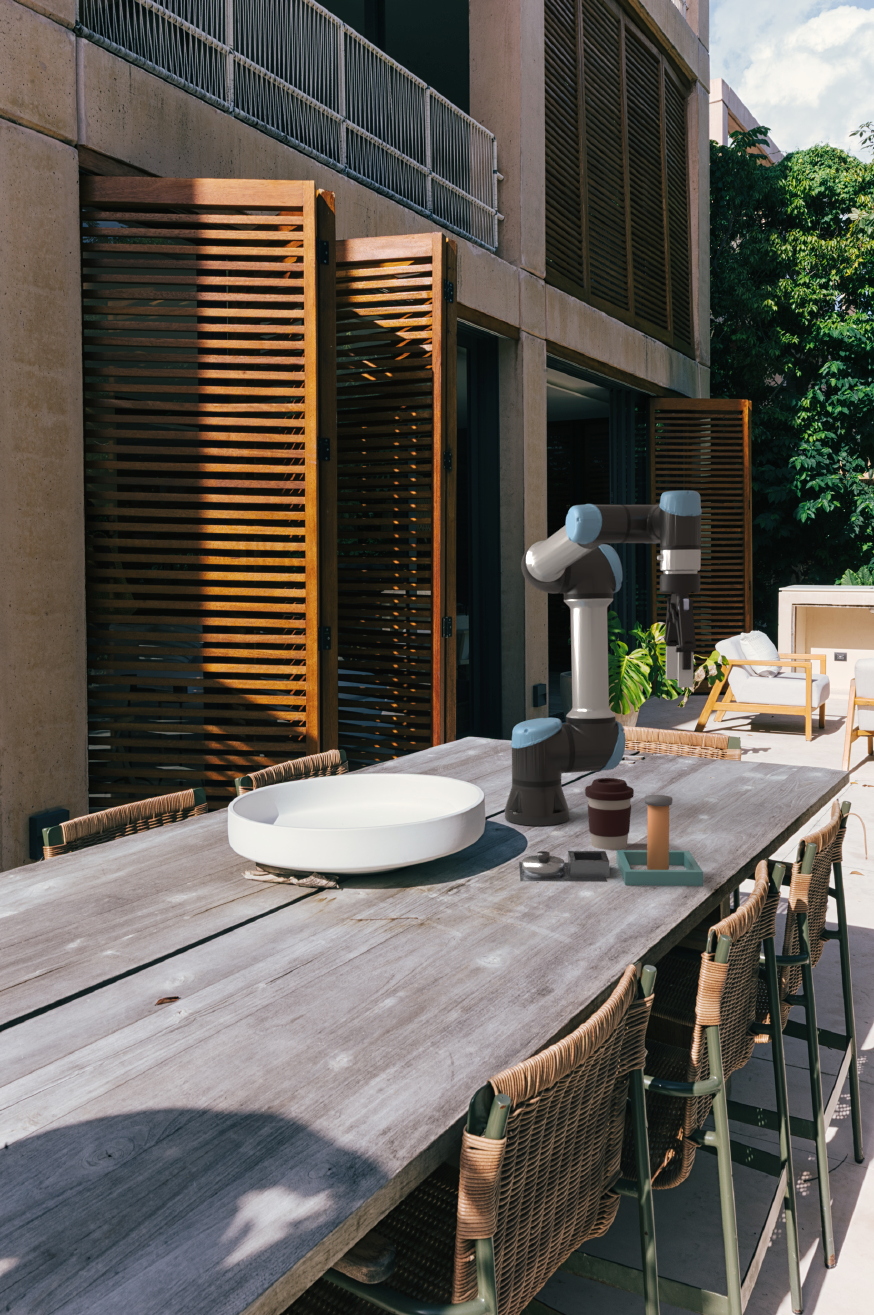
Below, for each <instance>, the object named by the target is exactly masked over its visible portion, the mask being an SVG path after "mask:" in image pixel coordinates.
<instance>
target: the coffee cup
mask: <svg viewBox="0 0 874 1315" xmlns="http://www.w3.org/2000/svg"><path fill="white" fill-rule="evenodd" d="M584 790H585V791H584V796H585V797H586V798H587V800H588V803H587V815H588V817H587V818H588V829H589V830H588V831H589V833H590V841H591V842H590V844H591V847H593V848H597V849H599V850H605V851H606V850H607V851H608V850H609V851H615V850H624V849H625V848H627V847H628V842H629V841H628V840H629V834H630V827H631V826H630V825H631V815H632V814H631V812H632V804H631V800H632V798H634V795H635V793H634V791H635V790H634V787H631V786H629V785H628V784H627V781H625V780H624V779H622V778H616V777H615V778H614V777H602V778H601V777H600V778H596V779H593V780H592V783H591V784H590V785H588V786H586V787H585V788H584Z"/></svg>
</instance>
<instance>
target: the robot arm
mask: <svg viewBox="0 0 874 1315" xmlns="http://www.w3.org/2000/svg"><path fill="white" fill-rule="evenodd" d="M701 506H702V505H701V495H700V493H699V492H698V491H695V490H669V491H664V492H662V494H661V496H660V500H659V504H593V503H586V504H576V505H573V506H571V507H570V508H569V510H568V512H567V514H566V517H565V525H564V526H563V527H561V528H560V529H559V530H557V531H556V532H554V533H553V534H552V535H551V536H549V537H548V538H546V539H545V540H539V541H537V542H535V543H533V544H532V545H530V546H529V547H528V548H527V550H525V552H524V554H523V556H522V558H521V566H520V568H521V572H522V575H523V577H524V579H525V580H526V581H527V583H529V585H531V586H532V587H533V588H534V589H536V590H538V591H540V592H543V593H548V594H563V602H564V603H565V604H566V605H567V606H568V607H569V610H570V641H571V642H570V645H571V648H570V649H571V691H572V692H571V694H572V695H571V699H572V708H571V710H570V711H568V713H567V714H566V716H565V718H566V723H563V722H562V720H561V719H560V718H556V717H538V718H534V719H529V720H525V721H522V722H519V723H517V724H516V725H515V726H514V727H513V729H512V733H511V734H512V735H511V742H510V747H511V788H510V791H509V795H508V798H507V801H506V805H505V807H504V819H505V820H506V821H507V822H509V823H513V824H516V825H523V826H535V827H536V826H538V827H541V826H553V825H560V824H562V823H563V824H564V823H565V822H567V821H569V819H570V808H569V805H568V803H567V800H566V796H565V793H564V790H563V787H562V775H563V774H572V773H586V772H597V773H599V772H600V773H601V772H602V771H603V772H604V771H611V770H614V769H616V768H617V767H618V766H619V765H620V763H621V762H622V760H623V757H624V755H625V752H626V751H625V749H626V733H625V732H624V731H625V728H624V725H623V724H622V723H621V722H619V721H618V720H616V714H615V713H614V712H613V711H612V709H610V701H609V700H610V698H609V697H610V696H609V695H610V694H609V692H610V690H609V651H608V650H609V644H608V643H609V642H608V641H609V640H608V607H609V605H611V603H612V602H613V601H614V594H615V593H617V592H619V591H620V589H621V587H622V582H623V566H622V563H621V559H620V557H619V555H618V552H617V551H616V550H615V548H613V547H612V546H611V545H609V544H627V543H628V544H648V545H649V544H653V545H654V544H659V550H660V555H657V556H656V559H657V561H660V562H659V570H660V571H661V572H663V573H662V574H660V575H659V592H660V593H661V594H669V595H670V594H671V595H670V596H667V599H666V602H667V603H666V606H667V607H666V617H665V626H664V627H665V628H664V638H663V642H664V643H665V646H666V647H665V679H666V680H677V688H694V652H695V650H696V649H697V642H696V631H695V619H694V618H695V617H694V600H693V598H689V594H698V593H700V592H701V575H700V573H698V571H700V570H701V568H702V567H701V562H702V561H701V559H702V558H701V557H702V554H701V552H702V551H701V550H702V549H701V536H702V529H701V528H702V524H701V523H702V512H703V510H702V508H701Z"/></svg>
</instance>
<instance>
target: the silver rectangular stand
mask: <svg viewBox="0 0 874 1315" xmlns="http://www.w3.org/2000/svg"><path fill="white" fill-rule="evenodd" d="M518 864H519V866H518V867H519V878H520V879H519V882H571V883H572V882H574V883H575V882H576V883H577V882H579V883H580V882H581V883H583V882H584V883H585V882H588V883H590V882H593V883H595V882H596V883H598V882H599V883H600V882H601V883H605V882H608V878H610V860H609V858H608V854H607V851H606V850H567V862H566V861H565V860H564V859H563V858H562V857H559V856H556V855H555V856H554V855H551V854H550V851H545V850H541V851H540V850H539V851H537V852H536V855H529V856H526V857H524V858H522V860H521V861H518Z"/></svg>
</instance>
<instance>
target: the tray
mask: <svg viewBox="0 0 874 1315" xmlns="http://www.w3.org/2000/svg"><path fill="white" fill-rule="evenodd" d="M615 856H616V858H615V859H616V861H615V862H616V865H617V867H618V871H619V873H620V875H621V876H620V877H621V879H622V880H623V883H624V885H625V886H664V887H665V886H676V887H677V886H678V887H679V886H681V887H685V886H686V887H687V886H690V887H692V886H693V887H694V886H697V887H699V886H700V887H703V886H704V871H703V869H702V868H701V866H700V865H699V863H698V862H697V861H696V859H695V857H694V856H693V854H692V853H691V852H690V850H683V849H682V850H679V849H678V850H675V849H674V850H670V849H669V866H683V867H684V869H669V870H647V869H631V866H647V850H644V849H640V850H639V849H637V850H636V849H628V850H626V849H617V850H616V855H615Z"/></svg>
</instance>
